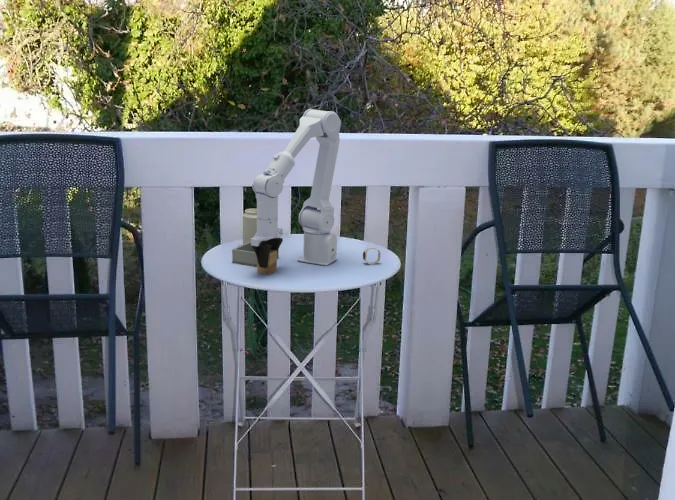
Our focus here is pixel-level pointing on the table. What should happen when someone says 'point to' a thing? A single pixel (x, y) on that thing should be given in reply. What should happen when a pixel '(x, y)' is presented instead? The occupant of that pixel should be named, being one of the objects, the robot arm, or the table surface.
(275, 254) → the walnut block
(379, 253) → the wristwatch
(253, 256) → the bin
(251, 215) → the can
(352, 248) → the table surface
